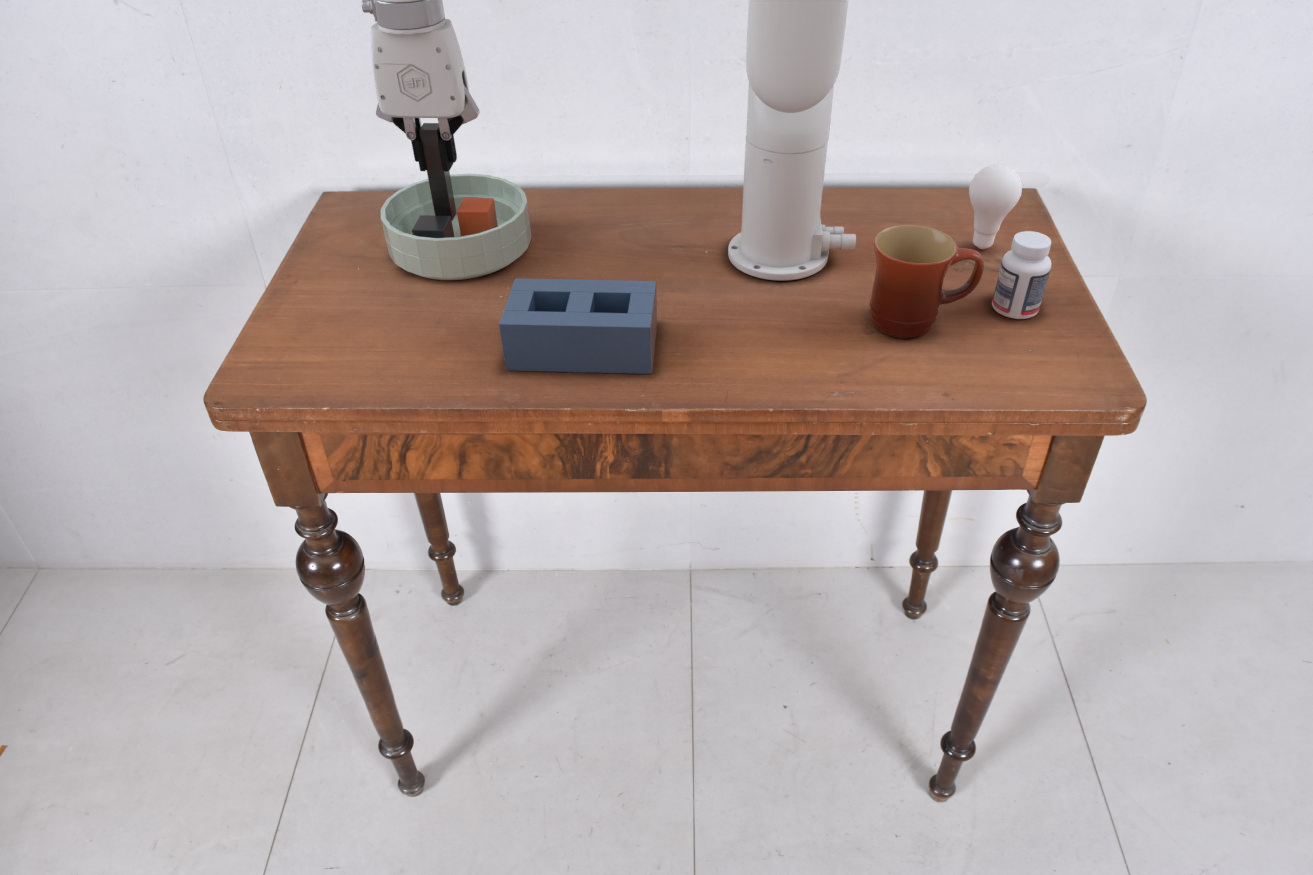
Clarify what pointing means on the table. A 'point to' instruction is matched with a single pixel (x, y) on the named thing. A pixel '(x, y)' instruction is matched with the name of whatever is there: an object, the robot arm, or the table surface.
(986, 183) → the lightbulb
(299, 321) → the table surface
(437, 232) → the block
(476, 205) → the block
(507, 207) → the bowl
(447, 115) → the robot arm
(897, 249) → the mug
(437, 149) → the rectangular bar
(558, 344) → the holder
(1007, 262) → the pill bottle
